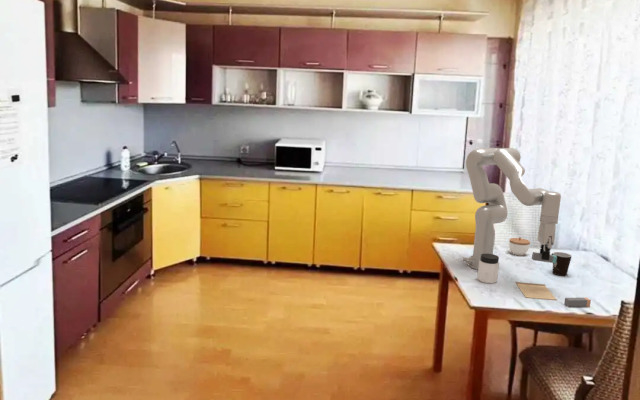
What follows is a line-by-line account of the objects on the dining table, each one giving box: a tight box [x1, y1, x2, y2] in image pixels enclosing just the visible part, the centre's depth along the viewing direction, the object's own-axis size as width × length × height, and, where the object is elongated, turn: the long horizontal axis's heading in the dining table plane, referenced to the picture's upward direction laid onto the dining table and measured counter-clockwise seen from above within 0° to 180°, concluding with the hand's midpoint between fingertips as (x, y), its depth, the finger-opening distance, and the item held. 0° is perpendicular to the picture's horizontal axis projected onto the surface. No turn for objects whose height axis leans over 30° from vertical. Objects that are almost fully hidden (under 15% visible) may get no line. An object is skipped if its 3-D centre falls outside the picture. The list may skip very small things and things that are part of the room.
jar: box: [476, 253, 500, 284], centre depth 267 cm, size 9×8×12 cm
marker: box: [531, 251, 557, 264], centre depth 259 cm, size 10×3×3 cm, turn 85°
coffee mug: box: [550, 251, 573, 277], centre depth 284 cm, size 12×9×10 cm
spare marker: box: [563, 297, 592, 308], centre depth 241 cm, size 10×3×3 cm, turn 99°
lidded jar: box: [508, 237, 531, 257], centre depth 315 cm, size 11×11×9 cm
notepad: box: [515, 281, 557, 301], centre depth 257 cm, size 13×19×1 cm
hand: (544, 258), depth 259 cm, fingers closed on marker, 2 cm apart
